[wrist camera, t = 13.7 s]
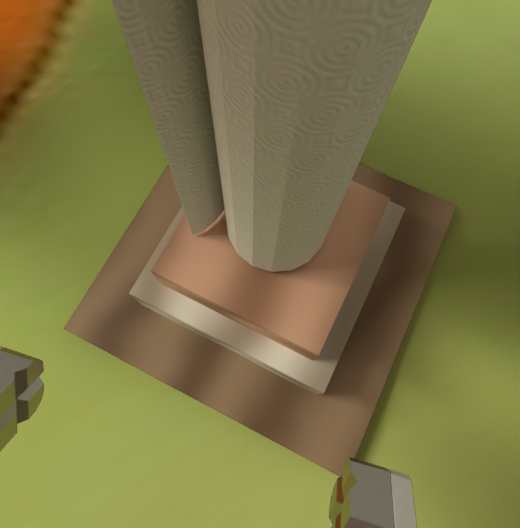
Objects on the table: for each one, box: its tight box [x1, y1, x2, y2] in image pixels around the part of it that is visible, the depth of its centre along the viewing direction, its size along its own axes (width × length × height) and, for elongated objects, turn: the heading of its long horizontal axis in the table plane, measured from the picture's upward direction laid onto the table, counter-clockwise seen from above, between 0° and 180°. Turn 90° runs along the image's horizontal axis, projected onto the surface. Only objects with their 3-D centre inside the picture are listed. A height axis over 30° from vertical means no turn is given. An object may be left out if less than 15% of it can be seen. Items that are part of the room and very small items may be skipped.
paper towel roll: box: [112, 0, 432, 272], centre depth 18 cm, size 7×6×21 cm
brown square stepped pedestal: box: [64, 163, 457, 477], centre depth 31 cm, size 22×22×8 cm
